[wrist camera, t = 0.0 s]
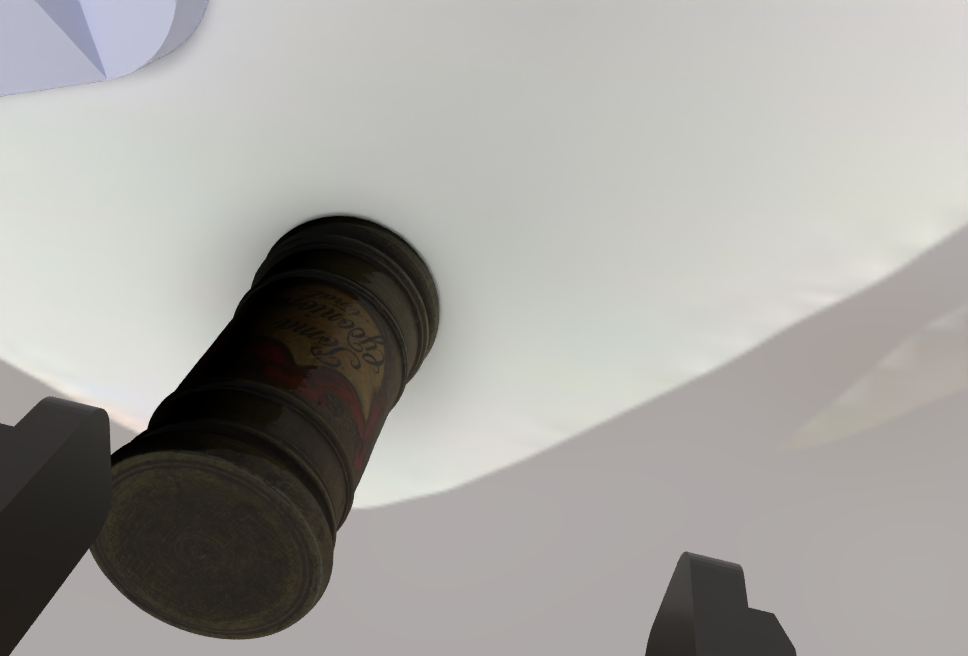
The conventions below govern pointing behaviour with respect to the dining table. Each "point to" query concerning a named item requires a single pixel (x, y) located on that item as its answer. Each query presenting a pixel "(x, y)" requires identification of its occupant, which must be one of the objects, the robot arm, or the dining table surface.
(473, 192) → the dining table surface
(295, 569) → the container
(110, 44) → the tape dispenser
